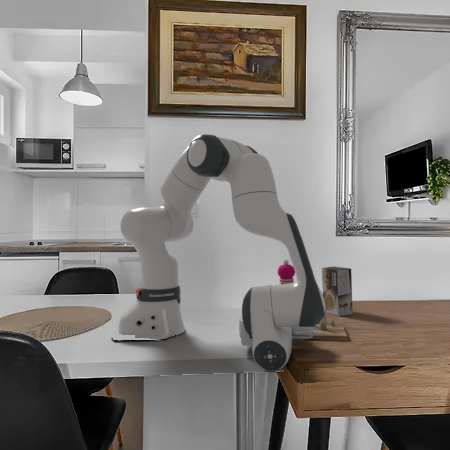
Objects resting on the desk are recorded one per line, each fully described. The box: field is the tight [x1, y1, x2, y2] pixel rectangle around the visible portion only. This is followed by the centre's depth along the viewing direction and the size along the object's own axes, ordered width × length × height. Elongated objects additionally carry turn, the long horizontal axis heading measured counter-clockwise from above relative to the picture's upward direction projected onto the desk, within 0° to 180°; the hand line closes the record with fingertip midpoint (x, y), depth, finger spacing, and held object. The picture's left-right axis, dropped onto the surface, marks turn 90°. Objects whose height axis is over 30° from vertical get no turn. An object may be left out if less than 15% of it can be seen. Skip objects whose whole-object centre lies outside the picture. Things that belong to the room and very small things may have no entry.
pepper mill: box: [277, 259, 296, 284], centre depth 132 cm, size 7×7×20 cm
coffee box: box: [321, 266, 354, 317], centre depth 136 cm, size 9×6×16 cm
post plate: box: [310, 315, 348, 342], centre depth 112 cm, size 12×12×5 cm
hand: (277, 319), depth 109 cm, fingers open, 8 cm apart
